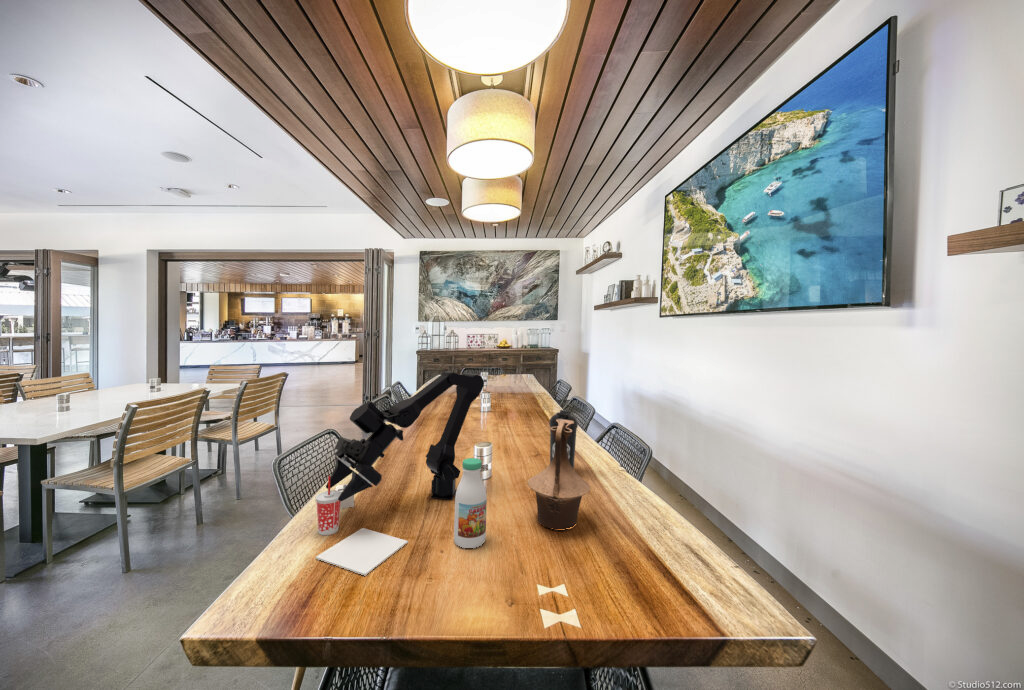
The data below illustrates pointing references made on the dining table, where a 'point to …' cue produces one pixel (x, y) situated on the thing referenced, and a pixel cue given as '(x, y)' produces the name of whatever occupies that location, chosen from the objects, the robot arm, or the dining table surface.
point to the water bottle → (572, 438)
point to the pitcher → (559, 485)
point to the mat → (362, 551)
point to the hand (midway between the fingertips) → (333, 494)
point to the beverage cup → (328, 511)
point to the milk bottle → (470, 506)
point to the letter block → (347, 502)
